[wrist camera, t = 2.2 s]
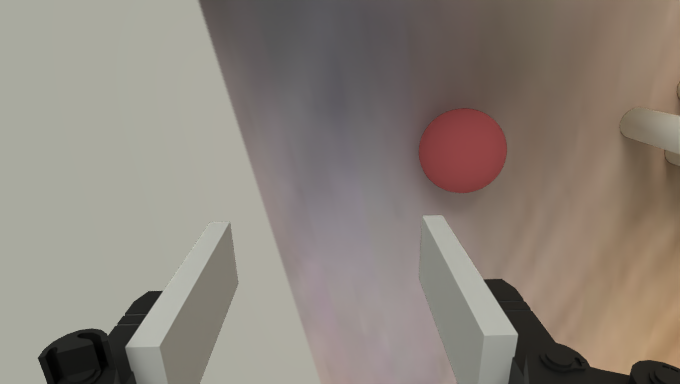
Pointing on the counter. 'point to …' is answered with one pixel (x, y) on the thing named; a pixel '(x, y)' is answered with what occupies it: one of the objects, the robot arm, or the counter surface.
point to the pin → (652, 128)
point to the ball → (462, 150)
